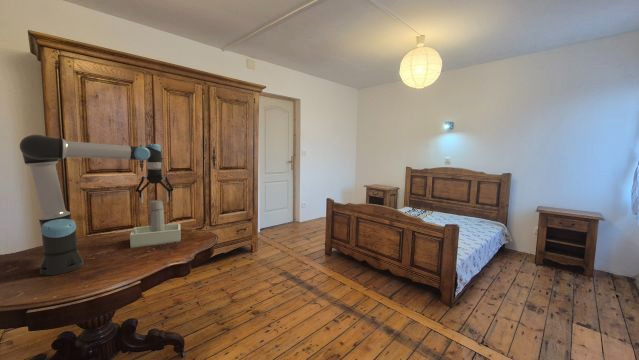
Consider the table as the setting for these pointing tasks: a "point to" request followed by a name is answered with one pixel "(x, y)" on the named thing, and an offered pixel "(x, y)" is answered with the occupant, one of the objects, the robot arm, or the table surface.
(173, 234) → the pale green storage bin
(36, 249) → the table surface
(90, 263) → the table surface
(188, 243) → the table surface
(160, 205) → the water bottle
